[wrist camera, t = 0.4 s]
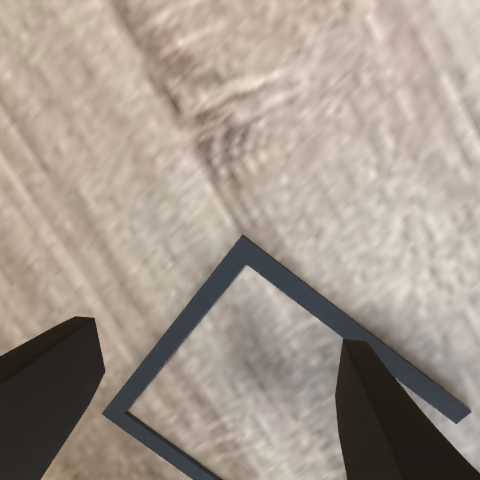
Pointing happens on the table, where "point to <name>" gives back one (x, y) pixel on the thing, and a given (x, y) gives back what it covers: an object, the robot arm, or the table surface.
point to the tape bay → (298, 292)
